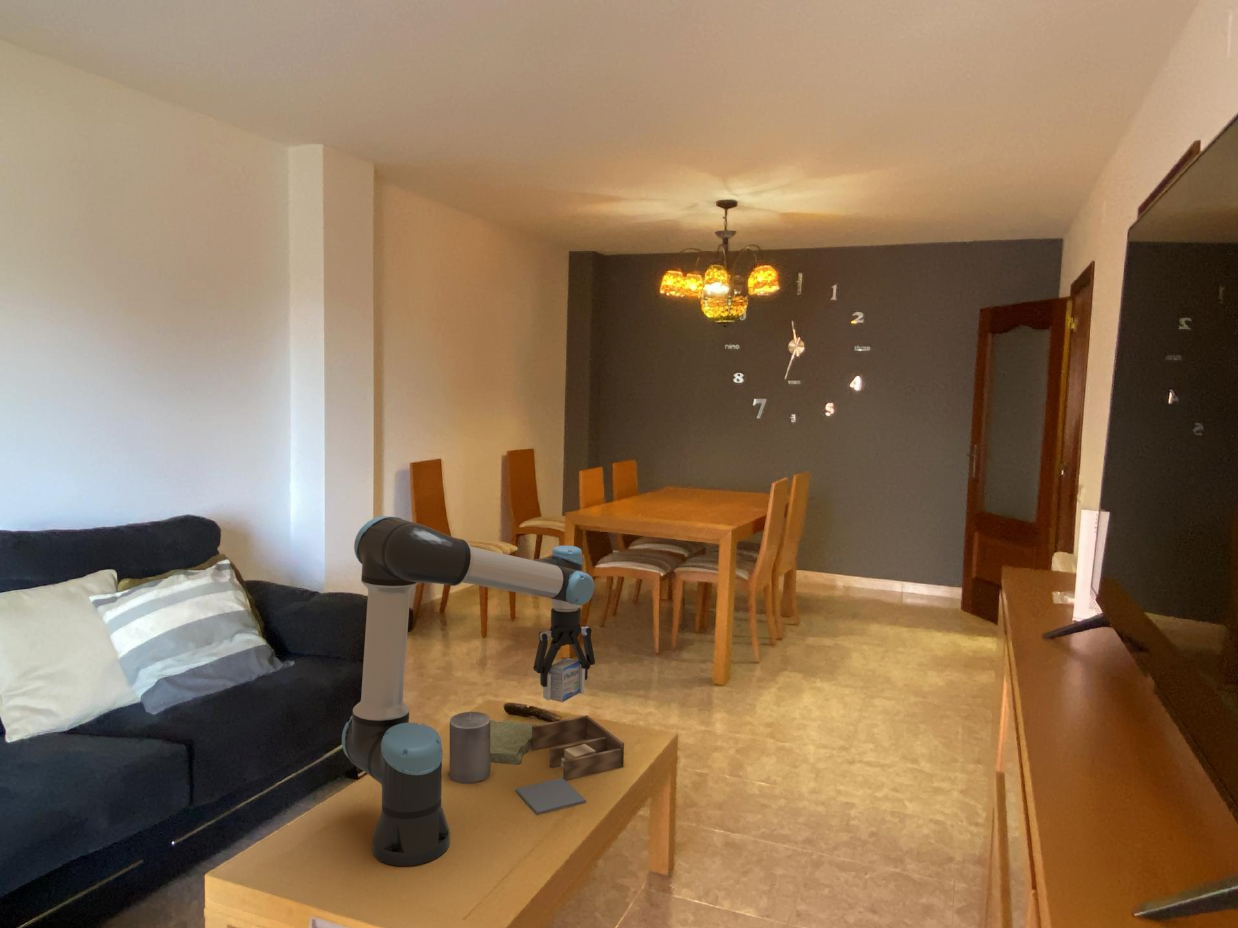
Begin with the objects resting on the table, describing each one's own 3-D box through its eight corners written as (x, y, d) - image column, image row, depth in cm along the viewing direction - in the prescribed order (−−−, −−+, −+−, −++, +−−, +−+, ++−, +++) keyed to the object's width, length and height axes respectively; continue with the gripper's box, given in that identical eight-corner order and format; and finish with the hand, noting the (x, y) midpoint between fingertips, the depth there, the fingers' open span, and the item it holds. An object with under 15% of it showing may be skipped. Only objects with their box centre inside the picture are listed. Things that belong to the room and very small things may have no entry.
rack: (565, 780, 198) (565, 755, 197) (531, 748, 215) (531, 725, 214) (623, 766, 206) (624, 743, 205) (586, 736, 223) (587, 715, 222)
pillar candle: (460, 762, 206) (460, 703, 204) (497, 768, 203) (497, 708, 202) (441, 780, 196) (441, 719, 195) (480, 786, 194) (480, 724, 192)
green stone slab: (450, 762, 207) (451, 748, 207) (473, 729, 227) (473, 716, 227) (524, 767, 205) (525, 753, 205) (541, 734, 225) (541, 721, 225)
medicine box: (562, 702, 207) (563, 668, 206) (547, 698, 209) (548, 665, 208) (579, 693, 213) (580, 660, 213) (565, 689, 216) (566, 657, 215)
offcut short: (574, 766, 201) (575, 756, 201) (564, 758, 205) (564, 749, 205) (595, 760, 205) (595, 750, 204) (584, 753, 208) (584, 743, 208)
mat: (537, 814, 182) (537, 812, 182) (515, 790, 192) (515, 788, 192) (585, 802, 188) (586, 799, 188) (562, 779, 198) (562, 777, 198)
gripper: (532, 616, 200) (530, 707, 202) (610, 607, 211) (608, 693, 213) (520, 608, 207) (518, 697, 209) (596, 600, 218) (594, 684, 220)
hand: (563, 695), depth 211 cm, fingers closed on medicine box, 9 cm apart
